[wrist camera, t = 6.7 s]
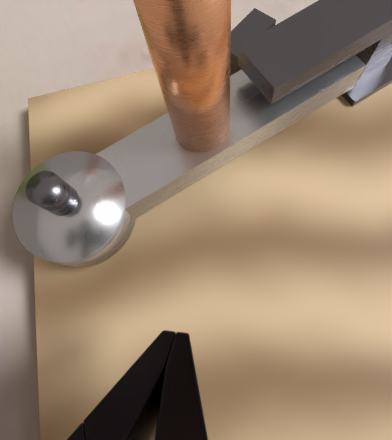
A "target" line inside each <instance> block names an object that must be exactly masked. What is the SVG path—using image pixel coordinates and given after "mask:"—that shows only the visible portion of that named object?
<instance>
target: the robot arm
mask: <svg viewBox="0 0 392 440" xmlns="http://www.w3.org/2000/svg"><path fill="white" fill-rule="evenodd" d="M83 423H84V424H83ZM83 423H81V424H80V425H79V426H78V427H77V428H76V429H75V431H74V432H73V433H72V434H71V435H70V436H69V437H68V438H67V439H66V440H208V436H207V431H206V425H205V420H204V414H203V408H202V403H201V397H200V392H199V386H198V380H197V375H196V369H195V364H194V358H193V352H192V347H191V341H190V336H189V334H188V333H184V332H177V333H176V332H174V331H168V330H164V331H162V332H161V333H160V334H159V335H158V336H157V338H156V339H155V340H154V341H153V342H152V343H151V344H150V346H149V347H148V348H147V349H146V350H145V351H144V352H143V353H142V355H141V356H140V357H139V358H138V359H137V360H136V361H135V363H134V364H133V365H132V366H131V367H130V368H129V369H128V371H127V372H126V373H125V374H124V375H123V376H122V377H121V378H120V380H119V381H118V382H117V383H116V384H115V385H114V386H113V388H112V389H111V390H110V391H109V392H108V393H107V394H106V396H105V397H104V398H103V399H102V400H101V401H100V402H99V403H98V405H97V406H96V407H95V408H94V409H93V410H92V411H91V413H90V414H89V415H88V416H87V417H86V418H85V419H84V421H83Z"/></svg>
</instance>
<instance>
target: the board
mask: <svg viewBox="0 0 392 440" xmlns="http://www.w3.org/2000/svg"><path fill="white" fill-rule="evenodd" d="M28 113H29V141H30V170H31V171H32V170H33V169H34V168H35V167H37V166H38V165H39V164H40V163H42V162H43V161H45V160H47V159H49V158H51V157H53V156H55V155H58V154H61V153H65V152H72V151H82V152H89V153H93V154H97V153H99V152H100V151H102V150H104V149H106V148H107V147H109V146H111V145H113V144H114V143H116V142H118V141H119V140H121V139H123V138H125V137H126V136H128V135H130V134H131V133H133V132H135V131H137V130H138V129H140V128H142V127H144V126H145V125H147V124H149V123H150V122H152V121H154V120H156V119H157V118H159V117H161V116H162V115H164V114H166V113H168V111H167V108H166V104H165V101H164V98H163V95H162V91H161V88H160V85H159V82H158V78H157V75H156V72H155V69H150V70H146V71H142V72H138V73H133V74H129V75H125V76H121V77H117V78H113V79H108V80H104V81H100V82H96V83H92V84H88V85H83V86H79V87H75V88H71V89H67V90H63V91H58V92H54V93H50V94H46V95H42V96H38V97H33V98H29V99H28ZM33 256H34V285H35V314H36V343H37V372H38V400H39V429H40V440H66V439H67V438H68V437H69V436H70V435H71V434H72V433H73V432H74V431H75V429H76V428H77V427H78V426H79V425H80V424H81V423H83V421H84V419H85V418H86V417H87V416H88V415H89V414H90V413H91V411H92V410H93V409H94V408H95V407H96V406H97V405H98V403H99V402H100V401H101V400H102V399H103V398H104V397H105V396H106V394H107V393H108V392H109V391H110V390H111V389H112V388H113V386H114V385H115V384H116V383H117V382H118V381H119V380H120V378H121V377H122V376H123V375H124V374H125V373H126V372H127V371H128V369H129V368H130V367H131V366H132V365H133V364H134V363H135V361H136V360H137V359H138V358H139V357H140V356H141V355H142V353H143V352H144V351H145V350H146V349H147V348H148V347H149V346H150V344H151V343H152V342H153V341H154V340H155V339H156V338H157V336H158V335H159V334H160V333H161V332H162V331H164V330H168V331H174V332H176V333H177V332H184V333H188V334H189V336H190V341H191V347H192V352H193V358H194V364H195V369H196V375H197V380H198V386H199V392H200V397H201V403H202V408H203V414H204V420H205V425H206V431H207V436H208V440H392V83H391V84H389V85H387V86H386V87H384V88H382V89H381V90H379V91H377V92H376V93H374V94H373V95H371V96H369V97H368V98H366V99H364V100H363V101H361V102H359V103H358V104H356V105H354V106H353V107H352V106H351V105H350V104H349V103H348V101H347V100H346V99H345V98H344V97H343V96H342V95H340V96H339V97H337V98H335V99H334V100H332V101H330V102H329V103H327V104H325V105H324V106H322V107H320V108H319V109H317V110H315V111H314V112H312V113H310V114H309V115H307V116H305V117H304V118H302V119H300V120H299V121H297V122H295V123H294V124H292V125H290V126H289V127H287V128H285V129H284V130H282V131H280V132H279V133H277V134H275V135H274V136H272V137H270V138H269V139H267V140H265V141H264V142H262V143H260V144H259V145H257V146H255V147H254V148H252V149H250V150H249V151H247V152H245V153H244V154H242V155H240V156H239V157H237V158H235V159H234V160H232V161H230V162H229V163H227V164H226V165H224V166H222V167H221V168H219V169H217V170H216V171H214V172H212V173H211V174H209V175H207V176H206V177H204V178H202V179H201V180H199V181H197V182H196V183H194V184H192V185H191V186H189V187H187V188H186V189H184V190H182V191H181V192H179V193H177V194H176V195H174V196H172V197H171V198H169V199H167V200H166V201H164V202H162V203H161V204H159V205H157V206H156V207H154V208H152V209H151V210H149V211H147V212H146V213H144V214H142V215H141V216H139V217H137V218H136V220H135V225H134V228H133V230H132V233H131V235H130V237H129V239H128V240H127V242H126V243H125V244H124V246H123V247H122V248H121V249H120V250H119V251H118V252H117V253H116V254H115V255H113V256H112V257H111V258H109V259H108V260H106V261H104V262H102V263H99V264H97V265H93V266H89V267H71V266H66V265H62V264H59V263H55V262H51V261H47V260H44V259H41V258H39V257H37V256H35V255H33ZM83 424H84V423H83Z"/></svg>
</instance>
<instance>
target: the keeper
mask: <svg viewBox="0 0 392 440" xmlns="http://www.w3.org/2000/svg"><path fill="white" fill-rule="evenodd" d="M275 23H276V20H275V19H273V18H272V17H270V16H268V15H266V14H264V13H263V12H261V11H259V10H257V9H255V8H254V9H253V10H252V11H251V12H250V13H249V14H248V15H247V16H246V17H245V18H244V19H243V20H242V21H241V22H240V23H239V24H238V25H237V26H236V27H235V28H234V29H233V30H232V31H231V48H230V76H231V75H233V74H235V73H236V72H238V71H240V70H243V72H244V73H245V74H246V75H247V76H248V78H249V79H250V80H251V81H252V82H253V84H254V85H255V86H256V87H257V88H258V89H259V91H260V92H261V93H262V94H263V95H264V97H265V98H266V99H267V100H268V101H269V103H270V104H273V103H275V102H276V101H278V100H280V99H281V98H283V97H285V96H286V95H288V94H290V93H292V92H293V91H295V90H297V89H298V88H300V87H302V86H303V85H305V84H307V83H308V82H310V81H312V80H313V79H315V78H317V77H319V76H320V75H322V74H324V73H325V72H327V71H329V70H330V69H332V68H334V67H335V66H337V65H339V64H340V63H342V62H344V61H346V60H347V59H349V58H351V57H352V56H354V55H356V56H357V57H358V58H359V59H360V60H361V61H362V62H363V63H364V64H365V65H366V66H365V68H364V70H363V72H362V73H361V75H360V77H359V79H358V80H357V82H356V84H355V86H354V87H353V88H352V89H350V90H349V91H347V92H345V93H344V94H342V96H343V97H344V98H345V99H346V100H347V101H348V103H349V104H350V105H351V106H352V107H353V106H354V105H356V104H358V103H359V102H361V101H363V100H364V99H366V98H368V97H369V96H371V95H373V94H374V93H376V92H377V91H379V90H381V89H382V88H384V87H386V86H387V85H389V84H391V83H392V0H319V1H317V2H315V3H314V4H312V5H310V6H308V7H307V8H305V9H303V10H301V11H300V12H298V13H296V14H294V15H293V16H291V17H289V18H287V19H286V20H284V21H282V22H280V23H279V24H277V25H275Z"/></svg>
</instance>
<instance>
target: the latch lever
mask: <svg viewBox="0 0 392 440" xmlns="http://www.w3.org/2000/svg"><path fill="white" fill-rule="evenodd" d="M134 4H135V7H136V10H137V13H138V17H139V20H140V23H141V26H142V30H143V33H144V36H145V39H146V43H147V46H148V49H149V52H150V56H151V59H152V62H153V65H154V69H155V72H156V75H157V78H158V82H159V85H160V88H161V91H162V95H163V98H164V101H165V104H166V108H167V111H168V113H166V114H164V115H162V116H161V117H159V118H157V119H156V120H154V121H152V122H150V123H149V124H147V125H145V126H144V127H142V128H140V129H138V130H137V131H135V132H133V133H131V134H130V135H128V136H126V137H125V138H123V139H121V140H119V141H118V142H116V143H114V144H113V145H111V146H109V147H107V148H106V149H104V150H102V151H100V152H99V153H97V154H93V153H89V152H82V151H72V152H65V153H61V154H58V155H55V156H53V157H51V158H49V159H47V160H45V161H43V162H42V163H40V164H39V165H38V166H37V167H35V168H34V169H33V170H32V171H31V172H30V173H29V174H28V175H27V177H26V178H25V179H24V181H23V182H22V184H21V185H20V187H19V189H18V191H17V194H16V196H15V199H14V204H13V210H12V221H13V227H14V230H15V233H16V235H17V237H18V239H19V241H20V242H21V244H22V245H23V246H24V247H25V248H26V249H27V250H28V251H29V252H30V253H32V254H33V255H35V256H37V257H39V258H41V259H44V260H47V261H51V262H55V263H59V264H62V265H66V266H71V267H89V266H93V265H97V264H99V263H102V262H104V261H106V260H108V259H109V258H111V257H112V256H113V255H115V254H116V253H117V252H118V251H119V250H120V249H121V248H122V247H123V246H124V244H125V243H126V242H127V240H128V239H129V237H130V235H131V233H132V230H133V228H134V225H135V220H136V218H137V217H139V216H141V215H142V214H144V213H146V212H147V211H149V210H151V209H152V208H154V207H156V206H157V205H159V204H161V203H162V202H164V201H166V200H167V199H169V198H171V197H172V196H174V195H176V194H177V193H179V192H181V191H182V190H184V189H186V188H187V187H189V186H191V185H192V184H194V183H196V182H197V181H199V180H201V179H202V178H204V177H206V176H207V175H209V174H211V173H212V172H214V171H216V170H217V169H219V168H221V167H222V166H224V165H226V164H227V163H229V162H230V161H232V160H234V159H235V158H237V157H239V156H240V155H242V154H244V153H245V152H247V151H249V150H250V149H252V148H254V147H255V146H257V145H259V144H260V143H262V142H264V141H265V140H267V139H269V138H270V137H272V136H274V135H275V134H277V133H279V132H280V131H282V130H284V129H285V128H287V127H289V126H290V125H292V124H294V123H295V122H297V121H299V120H300V119H302V118H304V117H305V116H307V115H309V114H310V113H312V112H314V111H315V110H317V109H319V108H320V107H322V106H324V105H325V104H327V103H329V102H330V101H332V100H334V99H335V98H337V97H339V96H340V95H342V94H344V93H345V92H347V91H349V90H350V89H352V88H353V87H354V86H355V84H356V82H357V80H358V79H359V77H360V75H361V73H362V72H363V70H364V68H365V66H366V65H365V64H364V63H363V62H362V61H361V60H360V59H359V58H358V57H357V56H356V55H354V56H352V57H351V58H349V59H347V60H346V61H344V62H342V63H340V64H339V65H337V66H335V67H334V68H332V69H330V70H329V71H327V72H325V73H324V74H322V75H320V76H319V77H317V78H315V79H313V80H312V81H310V82H308V83H307V84H305V85H303V86H302V87H300V88H298V89H297V90H295V91H293V92H292V93H290V94H288V95H286V96H285V97H283V98H281V99H280V100H278V101H276V102H275V103H273V104H270V103H269V101H268V100H267V99H266V98H265V97H264V95H263V94H262V93H261V92H260V91H259V89H258V88H257V87H256V86H255V85H254V84H253V82H252V81H251V80H250V79H249V78H248V76H247V75H246V74H245V73H244V72H243V70H240V71H238V72H236V73H235V74H233V75H231V76H230V48H231V0H134ZM41 171H51V172H53V173H55V174H56V175H57V176H59V177H60V178H61V179H63V180H64V181H65V182H66V183H68V184H69V185H70V186H72V187H73V188H74V189H75V190H76V191H77V193H78V197H79V200H78V204H77V206H76V208H75V209H74V210H73V211H72V212H71V213H69V214H67V215H65V216H57V215H54V214H52V213H50V212H49V211H47V210H45V209H43V208H41V207H39V206H37V205H36V204H34V203H32V202H30V201H29V200H28V198H27V196H26V185H27V183H28V181H29V180H30V178H31V177H32V176H33V175H35V174H36V173H38V172H41Z"/></svg>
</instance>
